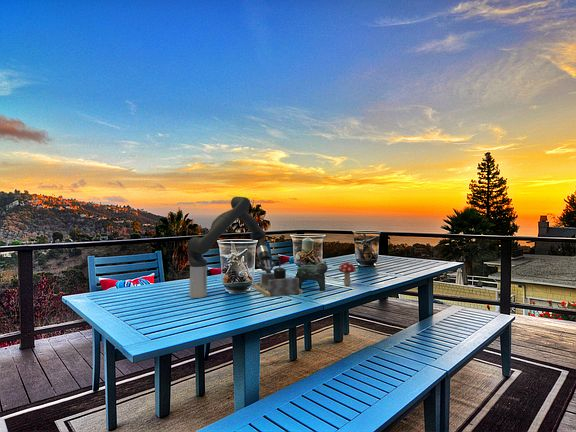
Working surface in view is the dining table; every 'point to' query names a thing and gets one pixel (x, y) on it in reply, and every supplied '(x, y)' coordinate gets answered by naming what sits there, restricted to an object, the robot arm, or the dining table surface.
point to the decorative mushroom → (347, 272)
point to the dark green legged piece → (312, 273)
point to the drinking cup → (279, 272)
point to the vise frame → (279, 287)
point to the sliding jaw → (266, 279)
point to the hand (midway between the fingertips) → (269, 275)
